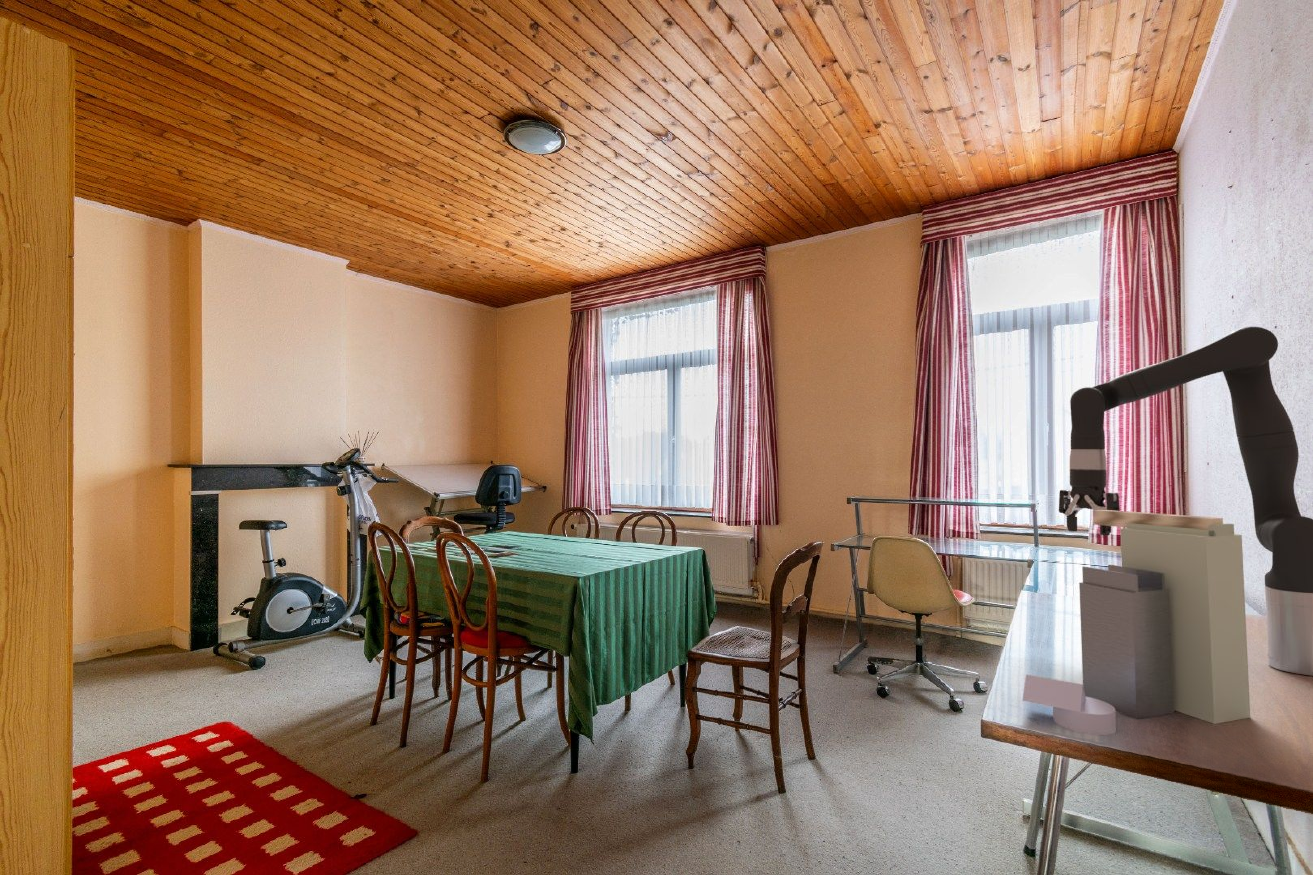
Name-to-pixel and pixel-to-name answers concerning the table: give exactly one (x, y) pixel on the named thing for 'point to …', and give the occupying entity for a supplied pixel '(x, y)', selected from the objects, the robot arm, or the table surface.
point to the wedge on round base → (1071, 705)
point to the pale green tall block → (1200, 613)
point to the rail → (1152, 519)
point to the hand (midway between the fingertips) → (1088, 533)
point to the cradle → (1127, 640)
